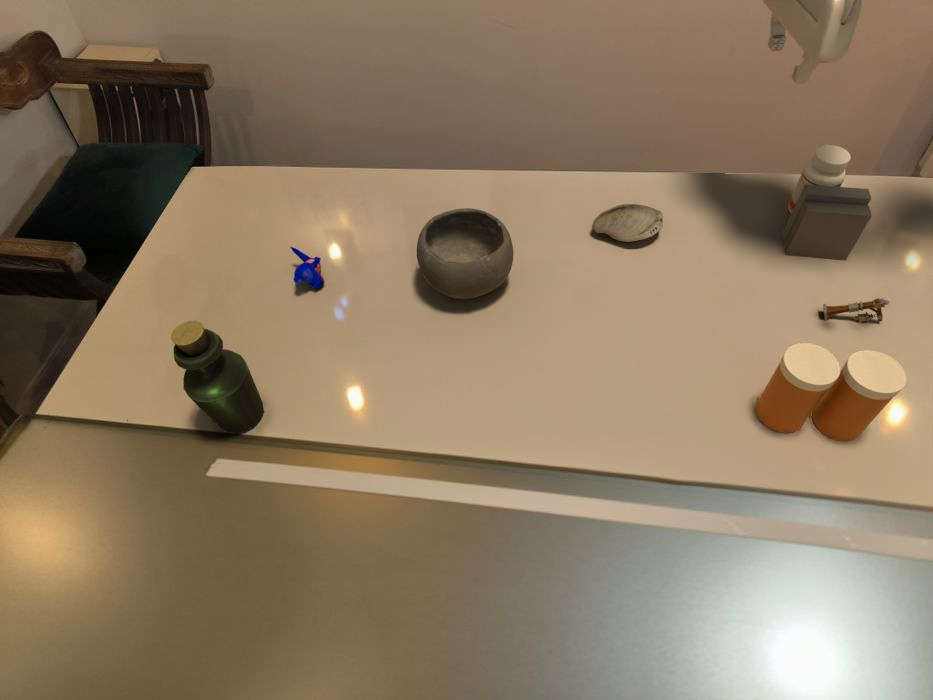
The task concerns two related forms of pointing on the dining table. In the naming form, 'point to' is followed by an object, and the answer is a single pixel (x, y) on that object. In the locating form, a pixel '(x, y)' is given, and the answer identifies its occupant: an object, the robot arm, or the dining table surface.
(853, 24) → the robot arm
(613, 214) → the seashell
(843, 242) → the grey boxes
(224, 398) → the potion bottle
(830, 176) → the pill bottle
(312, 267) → the figurine
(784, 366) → the matching pill bottles
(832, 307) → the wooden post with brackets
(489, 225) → the bowl
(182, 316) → the dining table surface
